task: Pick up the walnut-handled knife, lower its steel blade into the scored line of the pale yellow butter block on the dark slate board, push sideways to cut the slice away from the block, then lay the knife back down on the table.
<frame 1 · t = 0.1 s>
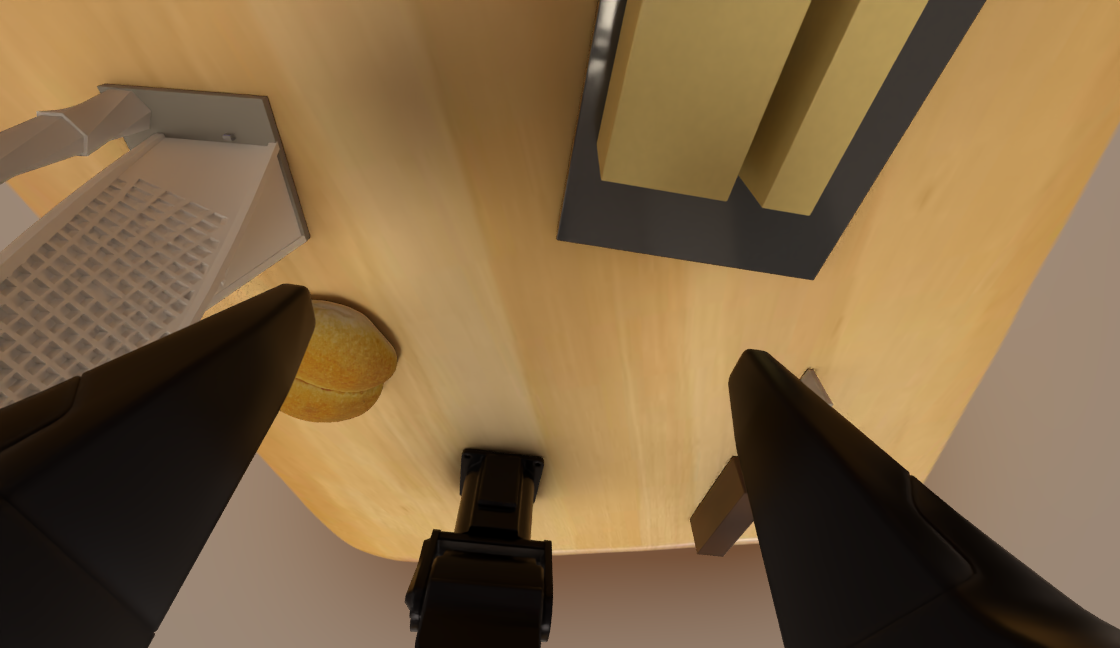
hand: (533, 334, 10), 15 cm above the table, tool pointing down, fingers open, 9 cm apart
butter slice: (796, 77, 19), point 1 cm above the table, touching butter board
knife: (722, 491, 40), on the table
bread roll: (333, 348, 30), on the table
butter block: (679, 54, 18), point 1 cm above the table, touching butter board
butter board: (746, 91, 20), on the table
skyscraper: (239, 179, 23), on the table
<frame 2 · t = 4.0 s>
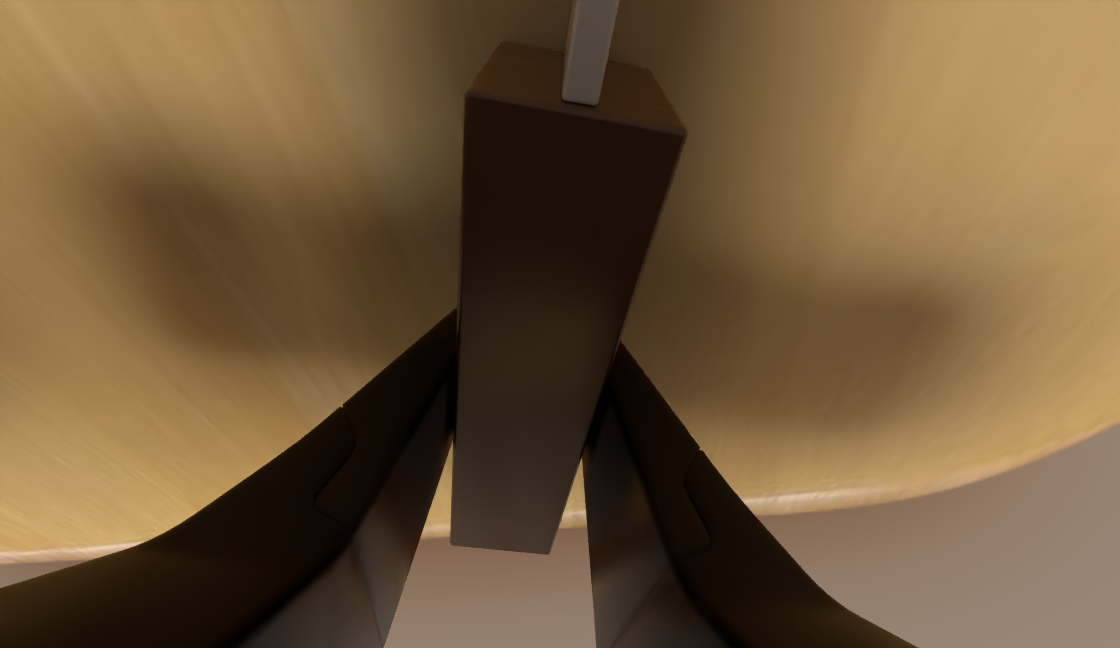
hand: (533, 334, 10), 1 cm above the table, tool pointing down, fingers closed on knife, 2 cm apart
knife: (535, 305, 10), on the table, touching gripper
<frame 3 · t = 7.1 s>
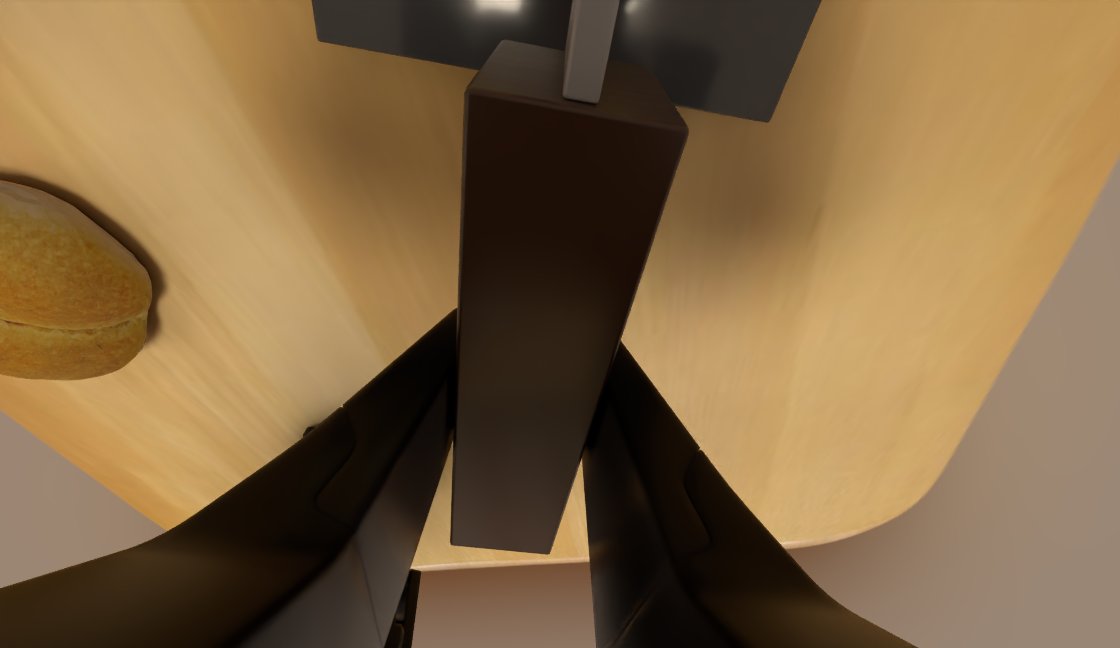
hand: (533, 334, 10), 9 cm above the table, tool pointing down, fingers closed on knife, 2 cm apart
knife: (535, 304, 10), point 8 cm above the table, touching gripper
bread roll: (64, 269, 20), on the table
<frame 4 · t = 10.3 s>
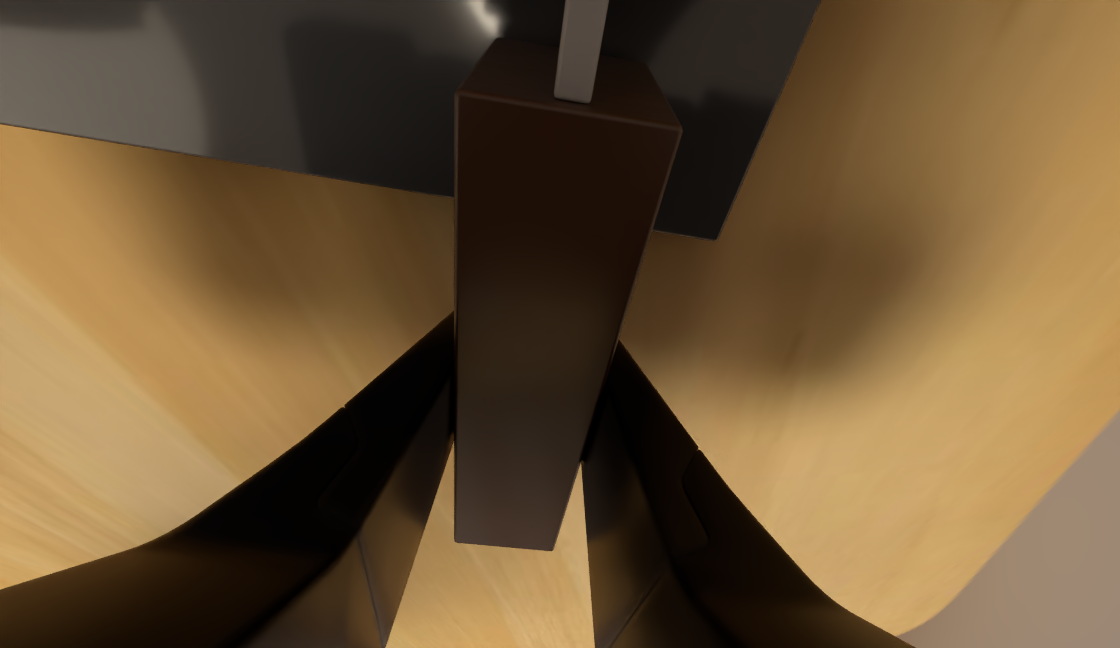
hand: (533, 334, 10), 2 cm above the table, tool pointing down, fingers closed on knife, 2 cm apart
knife: (535, 303, 10), point 1 cm above the table, touching gripper
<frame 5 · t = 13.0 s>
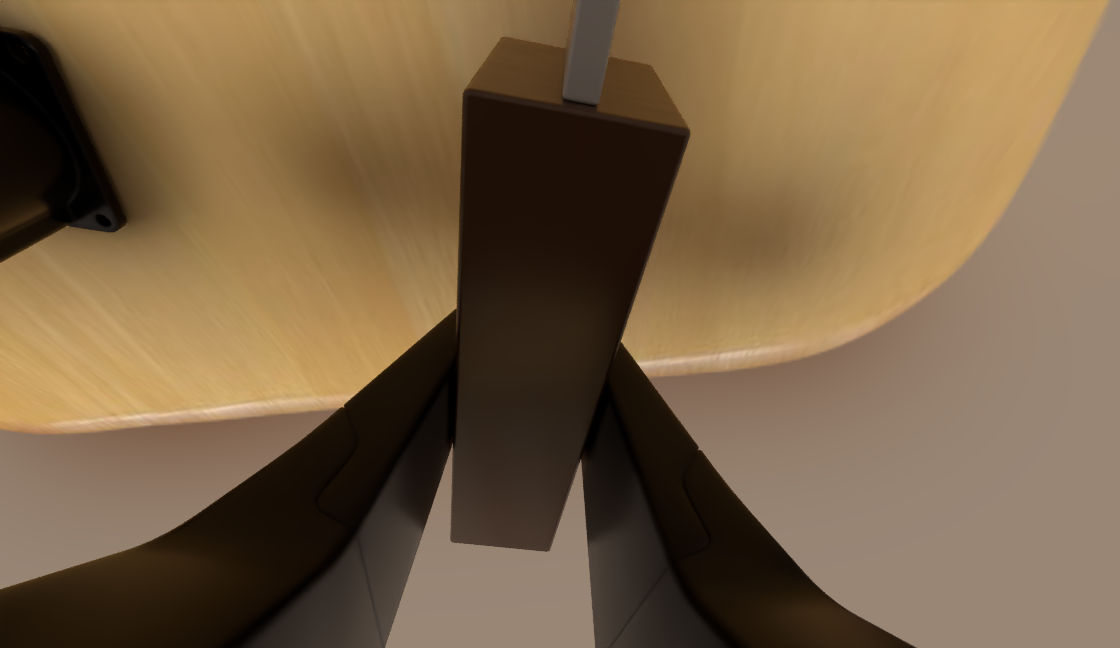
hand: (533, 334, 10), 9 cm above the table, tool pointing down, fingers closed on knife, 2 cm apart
knife: (535, 303, 10), point 8 cm above the table, touching gripper
when the fingers open (1 cm above the table, at t = 14.9 s): knife stays where it is, on the table.
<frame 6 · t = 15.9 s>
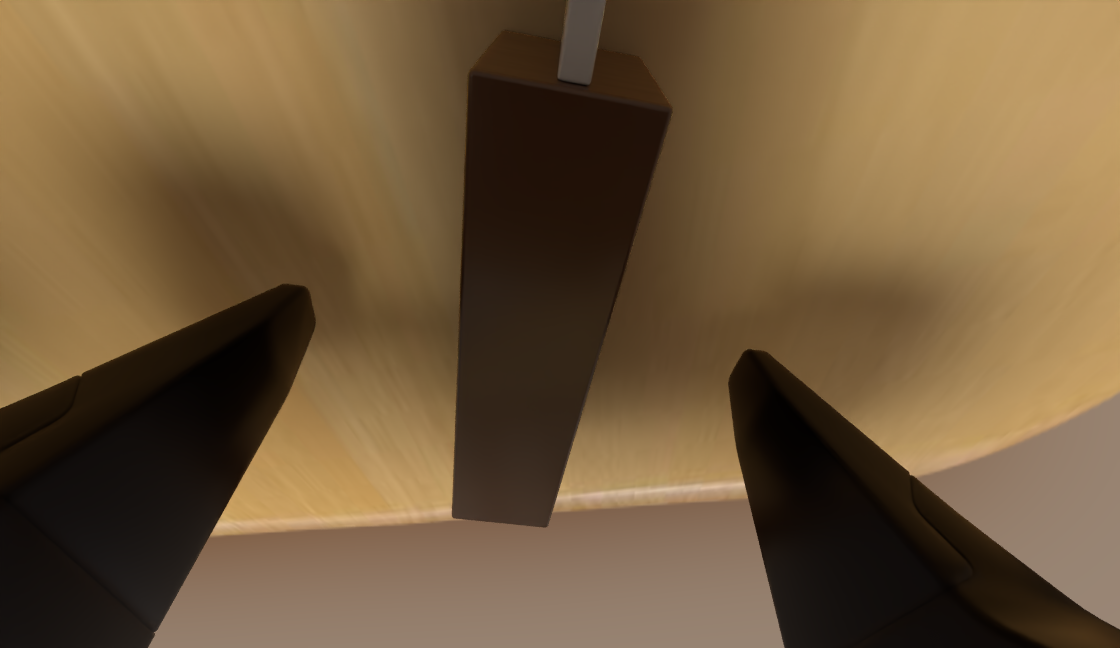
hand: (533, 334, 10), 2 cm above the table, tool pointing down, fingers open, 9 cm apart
knife: (534, 286, 11), on the table
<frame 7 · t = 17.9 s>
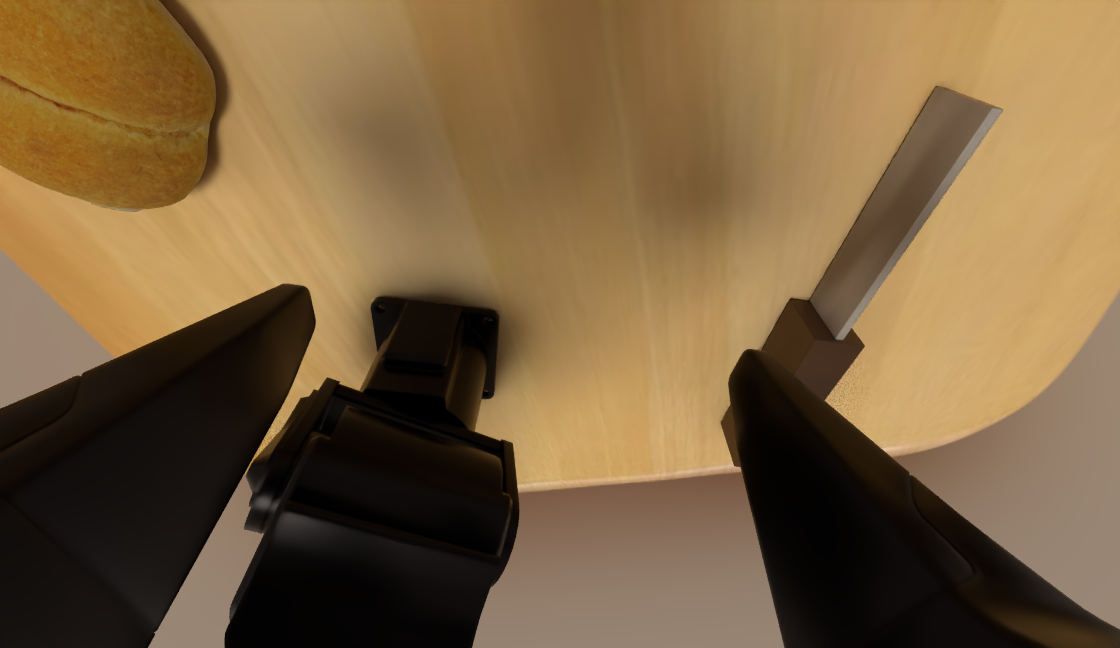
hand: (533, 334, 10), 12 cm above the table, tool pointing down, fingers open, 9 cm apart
knife: (771, 370, 27), on the table
bread roll: (115, 78, 18), on the table
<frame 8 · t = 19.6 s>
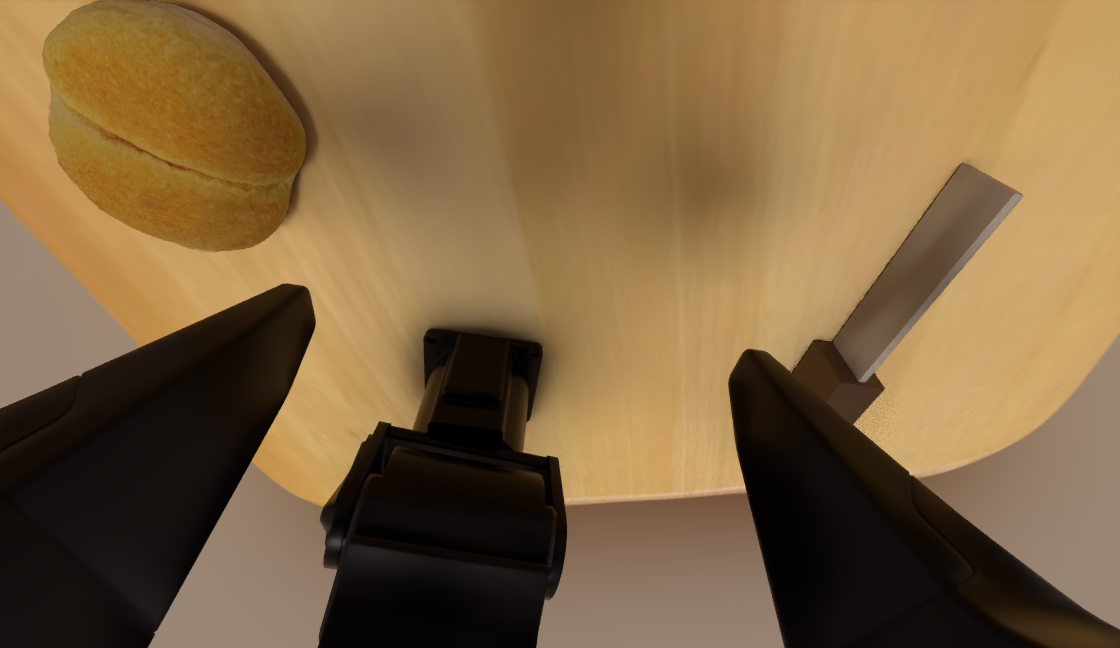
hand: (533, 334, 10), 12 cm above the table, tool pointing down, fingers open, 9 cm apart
knife: (791, 402, 28), on the table
bread roll: (208, 130, 19), on the table
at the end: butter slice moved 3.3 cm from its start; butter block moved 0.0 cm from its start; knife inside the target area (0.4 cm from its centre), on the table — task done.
